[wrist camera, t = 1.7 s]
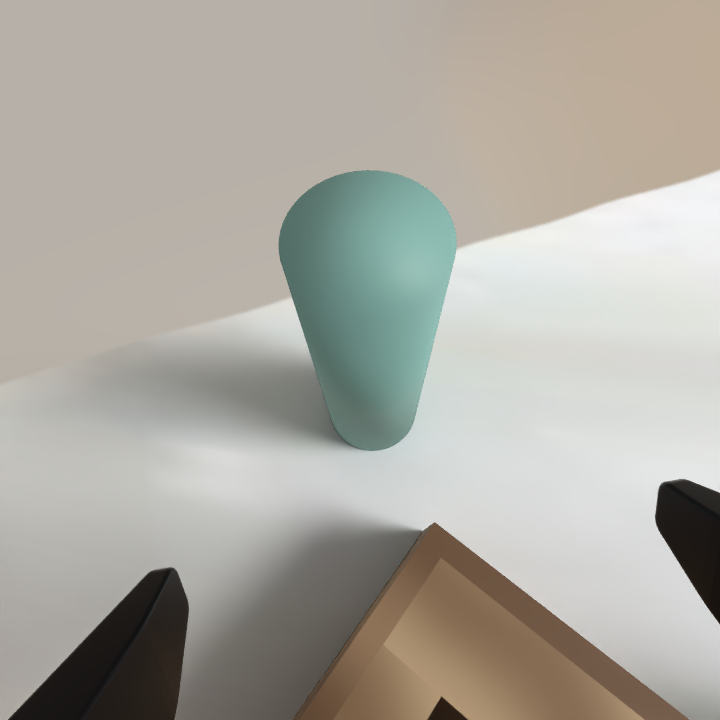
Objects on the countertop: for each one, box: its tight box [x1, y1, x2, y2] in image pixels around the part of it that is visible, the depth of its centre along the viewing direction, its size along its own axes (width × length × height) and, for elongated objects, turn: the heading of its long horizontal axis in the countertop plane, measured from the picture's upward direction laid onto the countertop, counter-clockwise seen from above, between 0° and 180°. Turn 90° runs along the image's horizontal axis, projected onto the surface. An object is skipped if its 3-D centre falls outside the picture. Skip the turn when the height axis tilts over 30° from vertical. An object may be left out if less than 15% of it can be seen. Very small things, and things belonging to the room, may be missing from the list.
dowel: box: [279, 170, 456, 451], centre depth 17 cm, size 4×4×13 cm
